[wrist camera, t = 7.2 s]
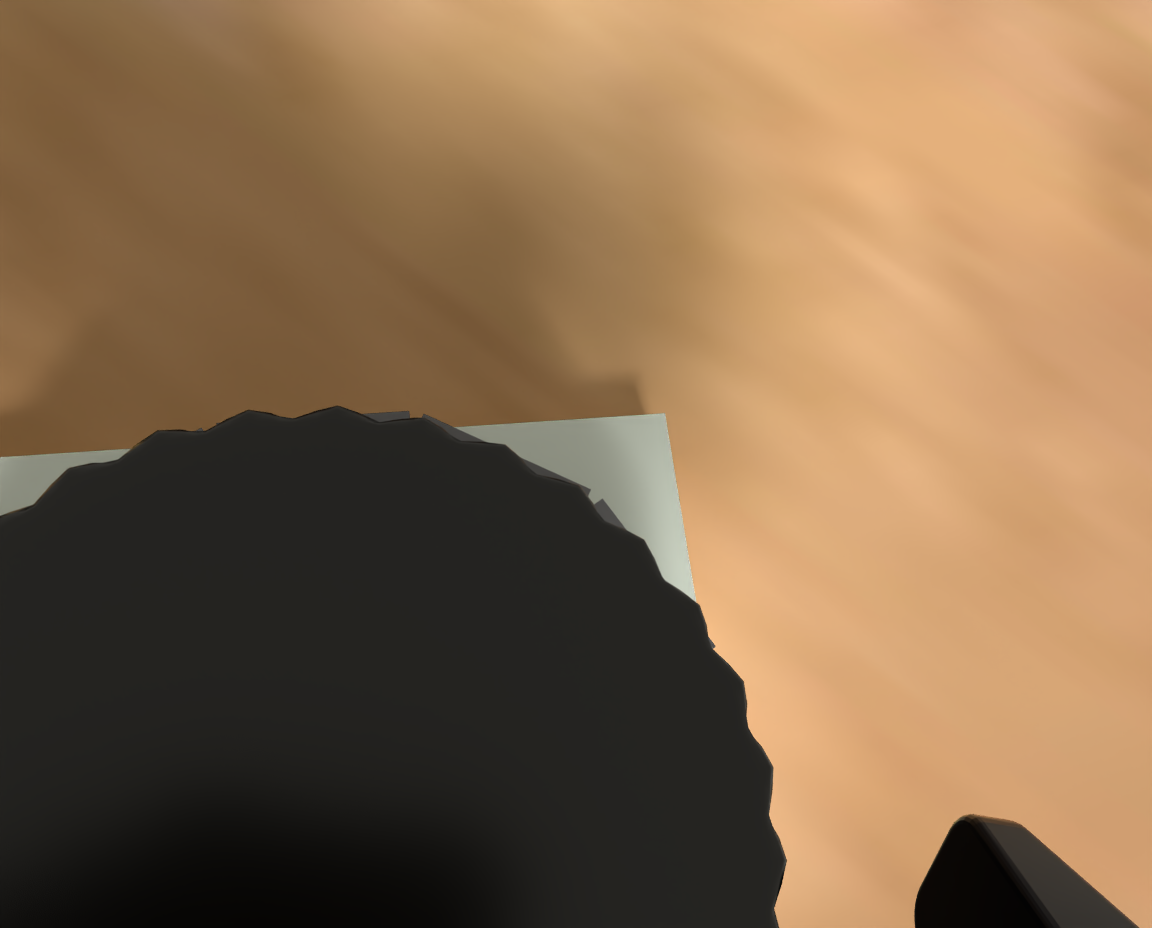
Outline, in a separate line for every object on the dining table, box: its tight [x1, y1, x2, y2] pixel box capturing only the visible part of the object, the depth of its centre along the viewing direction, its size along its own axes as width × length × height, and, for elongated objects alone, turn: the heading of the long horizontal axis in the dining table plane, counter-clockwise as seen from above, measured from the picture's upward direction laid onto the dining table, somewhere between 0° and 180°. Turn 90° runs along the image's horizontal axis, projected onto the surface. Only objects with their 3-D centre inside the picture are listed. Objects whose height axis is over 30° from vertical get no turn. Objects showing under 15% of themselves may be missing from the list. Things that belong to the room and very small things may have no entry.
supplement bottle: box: [0, 406, 787, 928], centre depth 11 cm, size 7×7×12 cm
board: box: [0, 413, 696, 602], centre depth 17 cm, size 12×12×1 cm
